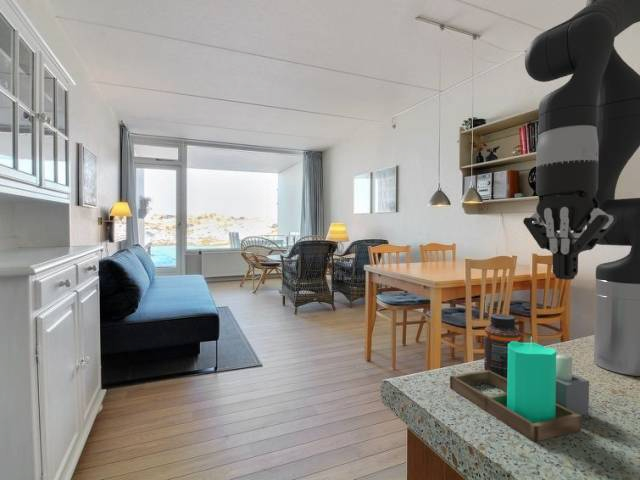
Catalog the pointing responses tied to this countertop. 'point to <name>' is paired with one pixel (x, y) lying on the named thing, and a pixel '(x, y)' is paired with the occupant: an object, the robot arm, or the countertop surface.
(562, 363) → the pale green rounded peg
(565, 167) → the robot arm
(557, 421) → the wooden tray
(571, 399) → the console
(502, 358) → the supplement bottle
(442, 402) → the countertop surface
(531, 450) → the countertop surface
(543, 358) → the candle
